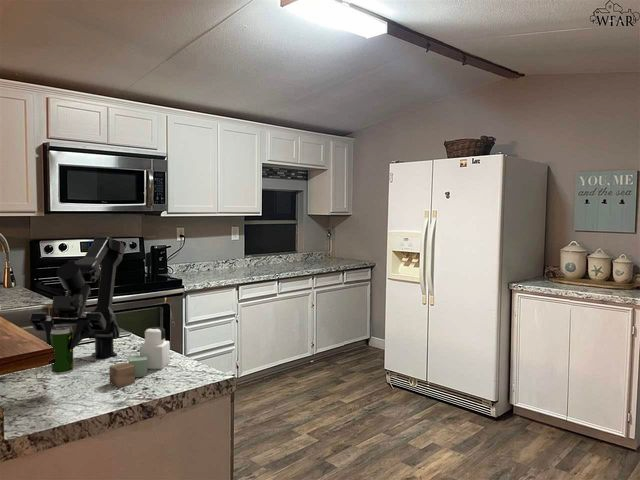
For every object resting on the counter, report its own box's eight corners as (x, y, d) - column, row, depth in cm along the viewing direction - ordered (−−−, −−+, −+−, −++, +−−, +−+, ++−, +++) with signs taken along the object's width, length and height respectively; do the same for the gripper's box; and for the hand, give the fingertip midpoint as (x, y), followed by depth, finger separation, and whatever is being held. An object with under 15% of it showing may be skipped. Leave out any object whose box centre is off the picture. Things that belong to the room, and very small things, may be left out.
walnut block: (109, 383, 142) (109, 366, 142) (126, 379, 146) (126, 362, 146) (117, 387, 139) (117, 370, 139) (134, 383, 143) (134, 366, 142)
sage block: (128, 372, 151) (128, 356, 151) (146, 370, 153) (146, 354, 153) (129, 378, 147) (129, 361, 146) (147, 376, 149) (147, 359, 148)
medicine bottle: (148, 361, 162) (147, 325, 161) (170, 362, 162) (169, 325, 161) (139, 368, 155) (139, 330, 154) (162, 369, 155) (162, 331, 154)
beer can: (52, 376, 131) (51, 331, 130) (50, 370, 135) (49, 327, 134) (74, 373, 134) (74, 328, 133) (72, 367, 138) (71, 324, 137)
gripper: (31, 283, 136) (10, 334, 126) (102, 283, 138) (87, 333, 127) (45, 306, 144) (27, 355, 134) (111, 306, 146) (99, 354, 136)
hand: (59, 349), depth 133 cm, fingers closed on beer can, 5 cm apart
